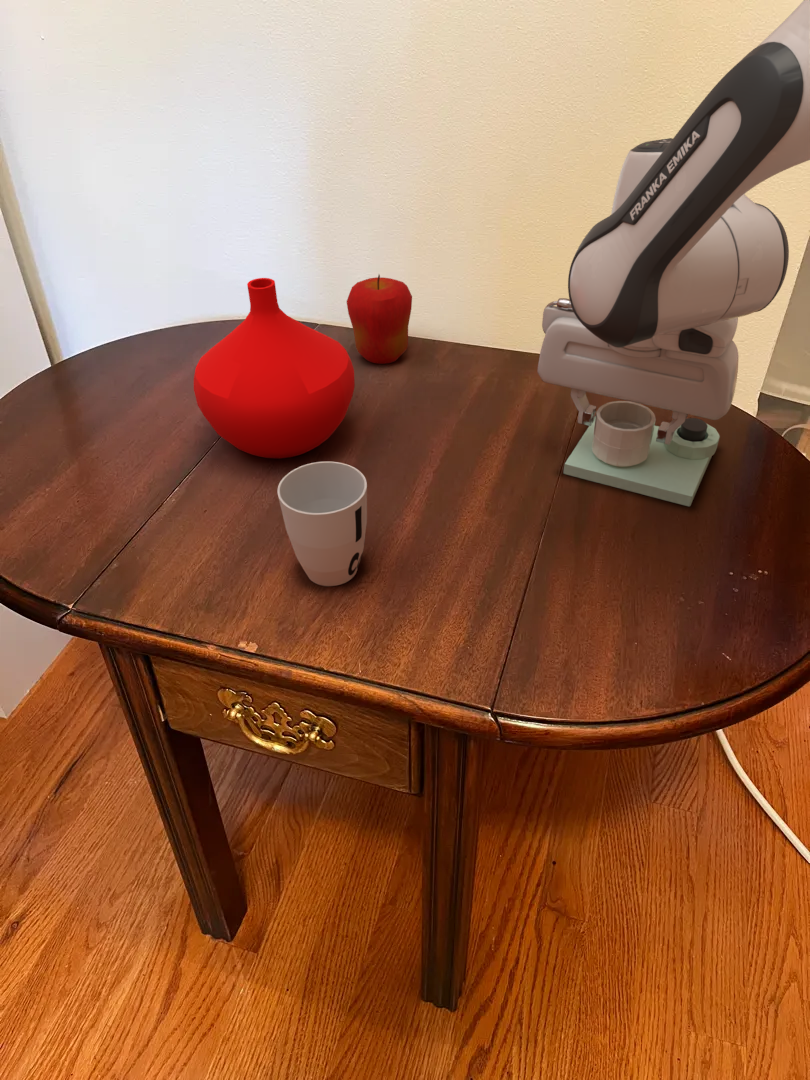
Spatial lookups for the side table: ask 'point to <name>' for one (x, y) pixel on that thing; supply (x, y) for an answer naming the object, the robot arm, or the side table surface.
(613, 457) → the bowl
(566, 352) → the robot arm
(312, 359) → the vase
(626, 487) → the scale
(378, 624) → the side table surface
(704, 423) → the tare button
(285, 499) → the cup
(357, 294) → the apple
